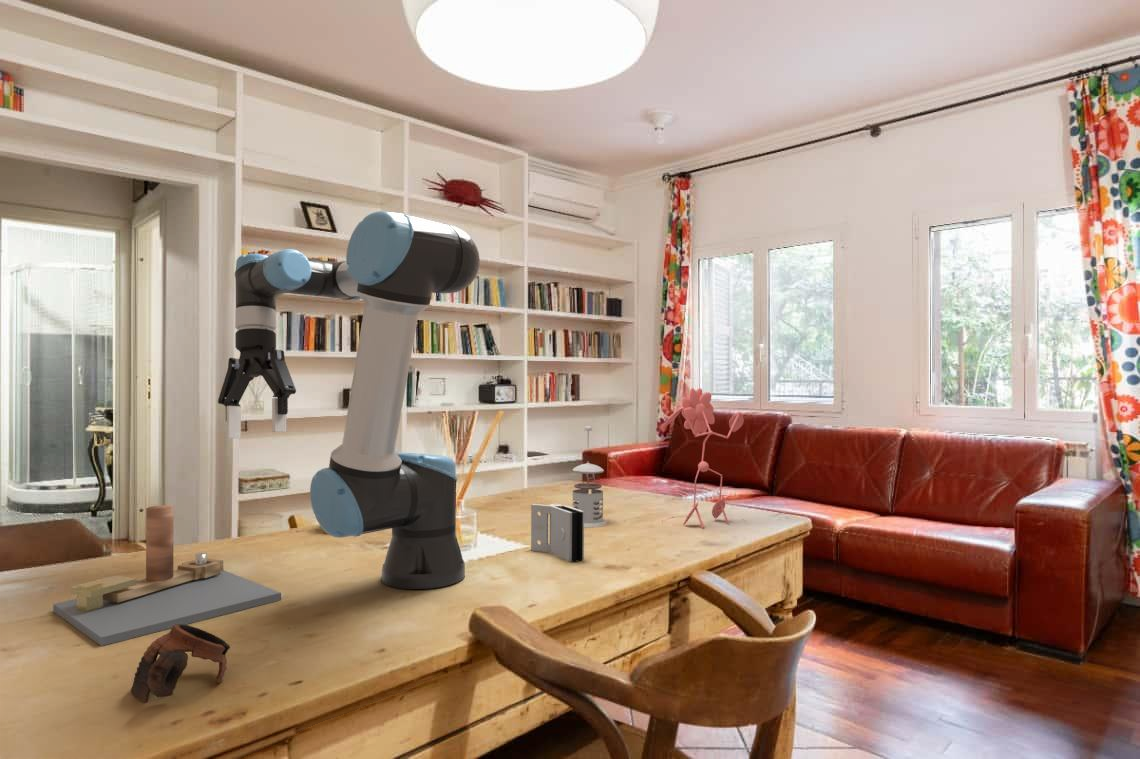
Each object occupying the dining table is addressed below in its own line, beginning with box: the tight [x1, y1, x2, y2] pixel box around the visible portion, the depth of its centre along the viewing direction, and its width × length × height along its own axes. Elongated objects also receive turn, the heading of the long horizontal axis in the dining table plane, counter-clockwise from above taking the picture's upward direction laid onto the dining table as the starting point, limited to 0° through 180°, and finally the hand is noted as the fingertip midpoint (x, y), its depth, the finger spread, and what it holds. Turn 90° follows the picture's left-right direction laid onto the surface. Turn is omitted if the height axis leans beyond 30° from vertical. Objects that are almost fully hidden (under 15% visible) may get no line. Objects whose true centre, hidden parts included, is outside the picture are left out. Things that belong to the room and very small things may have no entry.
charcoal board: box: [52, 569, 282, 647], centre depth 113 cm, size 22×26×1 cm
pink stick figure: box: [660, 387, 747, 529], centre depth 181 cm, size 15×26×35 cm, turn 126°
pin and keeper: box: [70, 552, 208, 612], centre depth 116 cm, size 5×21×4 cm, turn 156°
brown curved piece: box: [130, 624, 231, 704], centre depth 82 cm, size 12×10×8 cm
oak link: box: [103, 504, 224, 603], centre depth 118 cm, size 19×6×13 cm, turn 158°
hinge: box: [530, 503, 585, 563], centre depth 147 cm, size 14×5×10 cm, turn 43°
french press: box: [571, 425, 608, 528], centre depth 179 cm, size 10×12×25 cm
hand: (256, 435), depth 138 cm, fingers open, 13 cm apart
